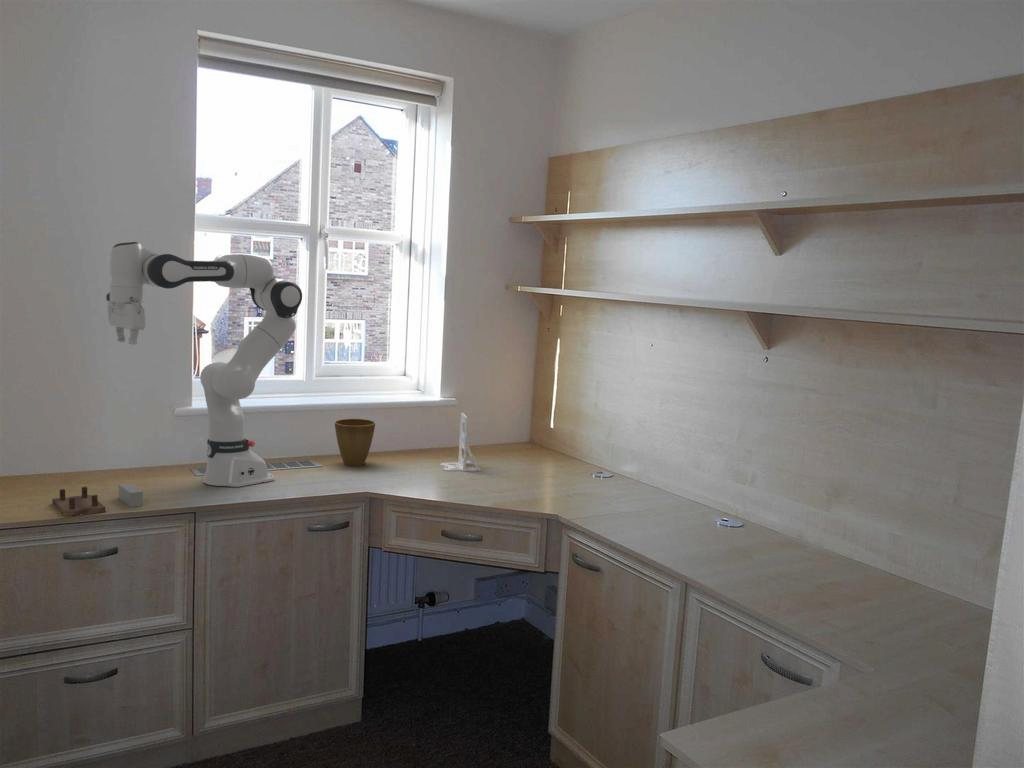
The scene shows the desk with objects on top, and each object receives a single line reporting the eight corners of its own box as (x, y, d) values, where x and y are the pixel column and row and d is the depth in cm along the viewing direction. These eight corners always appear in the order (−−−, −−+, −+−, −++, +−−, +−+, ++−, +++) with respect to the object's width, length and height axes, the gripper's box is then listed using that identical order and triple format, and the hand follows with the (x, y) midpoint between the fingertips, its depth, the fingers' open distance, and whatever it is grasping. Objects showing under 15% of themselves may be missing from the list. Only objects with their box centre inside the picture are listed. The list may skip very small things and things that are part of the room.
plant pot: (328, 461, 315) (329, 419, 313) (366, 459, 322) (367, 418, 320) (340, 469, 302) (341, 425, 300) (379, 467, 309) (380, 424, 307)
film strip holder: (439, 463, 321) (441, 411, 319) (475, 463, 324) (477, 412, 322) (443, 471, 307) (445, 417, 305) (481, 471, 310) (483, 418, 308)
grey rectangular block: (130, 497, 253) (130, 483, 252) (142, 506, 244) (142, 491, 243) (118, 498, 251) (118, 484, 250) (130, 507, 242) (130, 493, 241)
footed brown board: (90, 499, 247) (90, 484, 247) (105, 512, 235) (105, 496, 235) (52, 503, 241) (52, 488, 240) (65, 517, 229) (65, 500, 228)
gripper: (150, 298, 245) (151, 345, 246) (125, 295, 259) (125, 340, 261) (128, 297, 240) (128, 346, 242) (103, 295, 255) (104, 340, 256)
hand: (126, 343), depth 251 cm, fingers open, 8 cm apart
